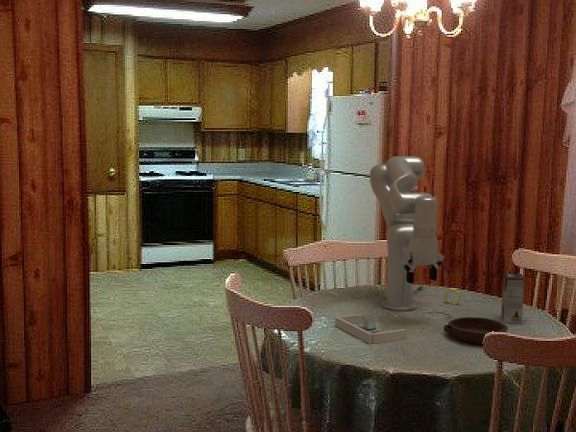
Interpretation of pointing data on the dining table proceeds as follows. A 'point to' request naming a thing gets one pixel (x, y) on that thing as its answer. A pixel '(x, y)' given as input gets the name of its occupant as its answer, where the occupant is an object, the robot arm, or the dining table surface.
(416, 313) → the dining table surface
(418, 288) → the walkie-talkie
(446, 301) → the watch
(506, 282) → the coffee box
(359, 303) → the dining table surface
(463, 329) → the dish
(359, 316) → the box
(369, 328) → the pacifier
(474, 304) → the dining table surface
